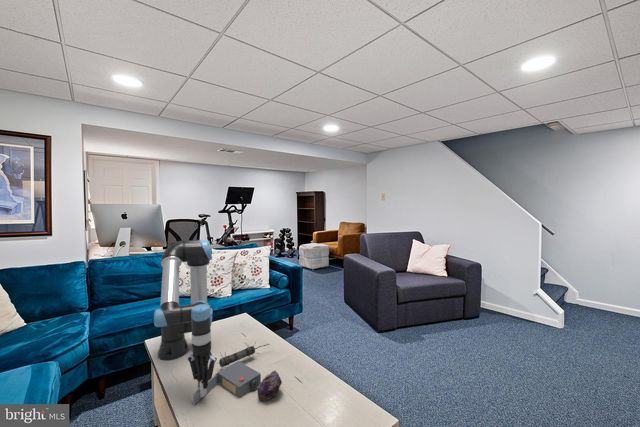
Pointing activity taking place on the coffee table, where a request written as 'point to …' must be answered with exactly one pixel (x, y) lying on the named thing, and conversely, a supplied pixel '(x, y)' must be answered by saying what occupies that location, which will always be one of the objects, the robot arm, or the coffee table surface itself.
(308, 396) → the coffee table surface
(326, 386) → the coffee table surface
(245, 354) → the bomb
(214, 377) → the side door
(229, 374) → the camera body
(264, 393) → the rock
